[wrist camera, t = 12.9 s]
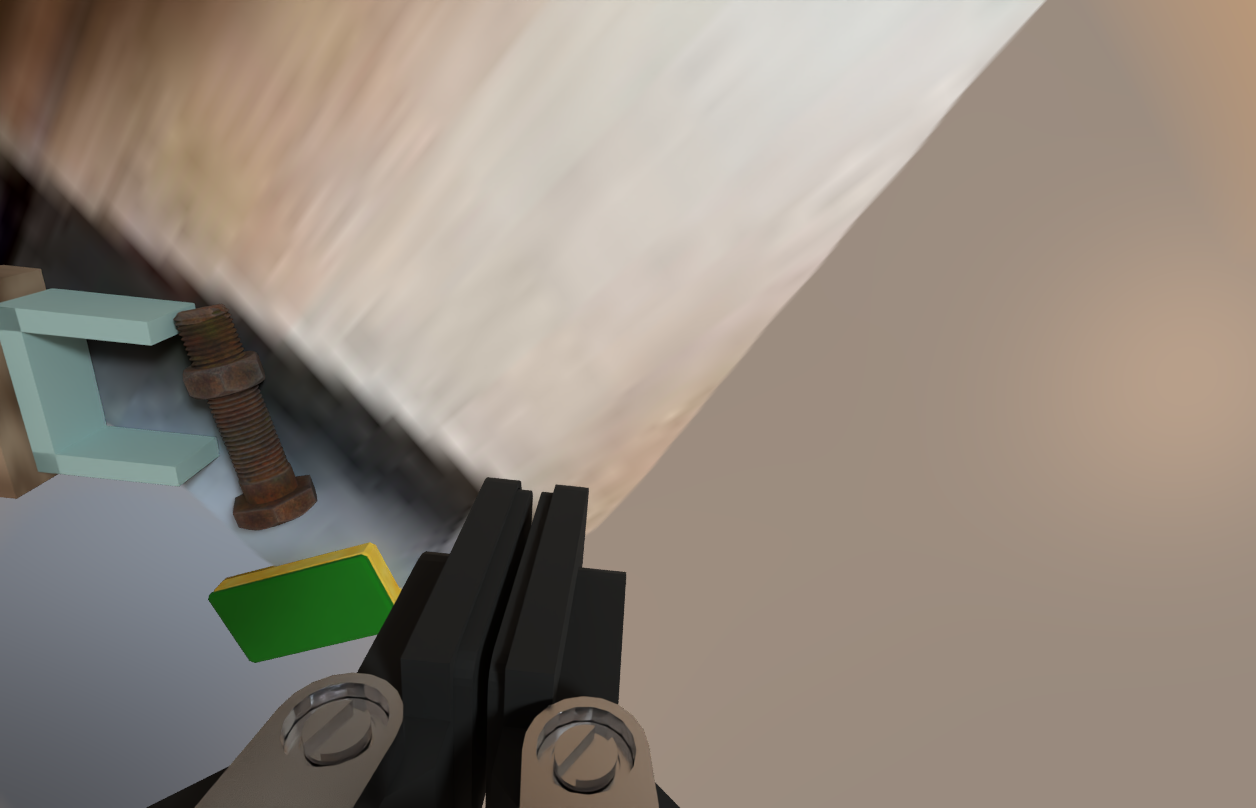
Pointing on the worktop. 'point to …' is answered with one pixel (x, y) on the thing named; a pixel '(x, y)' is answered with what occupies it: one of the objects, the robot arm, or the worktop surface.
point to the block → (90, 386)
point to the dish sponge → (307, 602)
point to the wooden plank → (3, 443)
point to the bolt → (242, 419)
